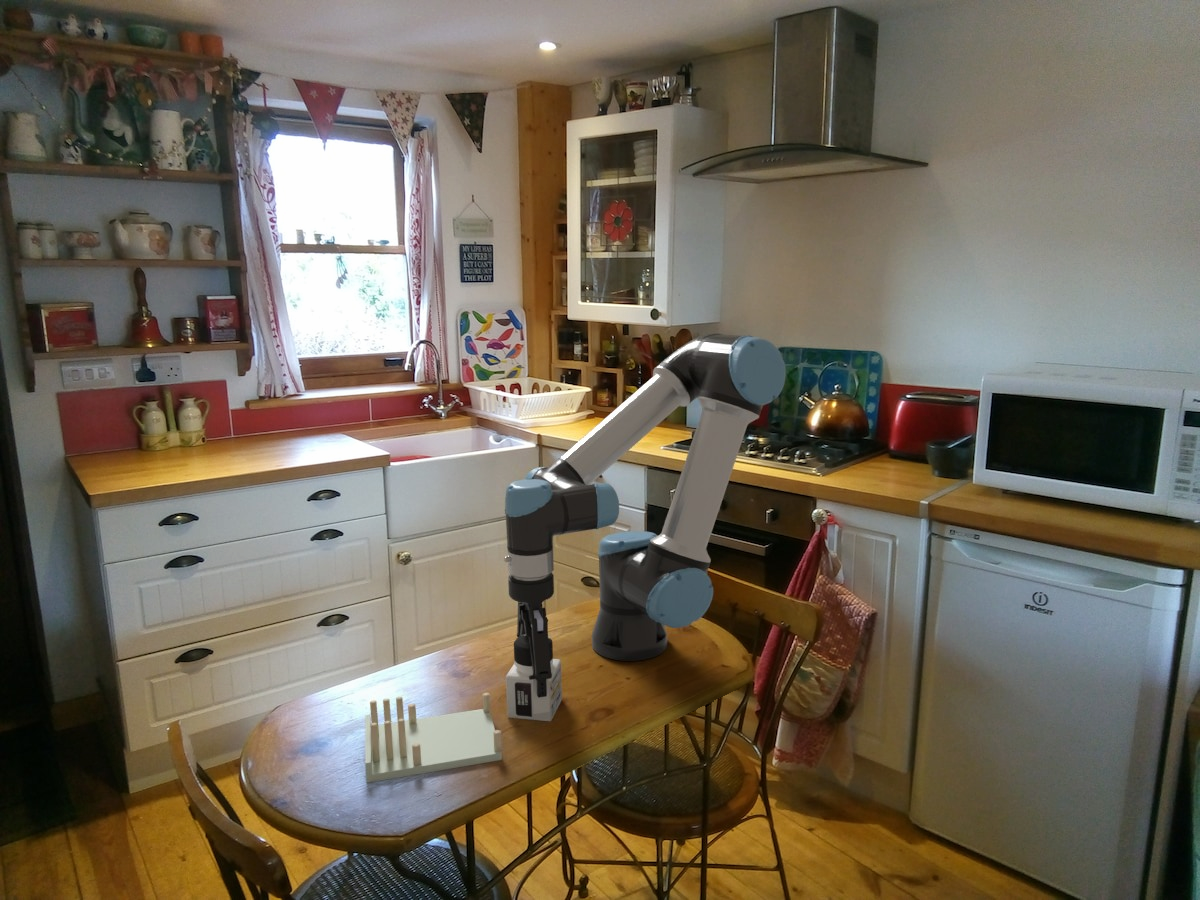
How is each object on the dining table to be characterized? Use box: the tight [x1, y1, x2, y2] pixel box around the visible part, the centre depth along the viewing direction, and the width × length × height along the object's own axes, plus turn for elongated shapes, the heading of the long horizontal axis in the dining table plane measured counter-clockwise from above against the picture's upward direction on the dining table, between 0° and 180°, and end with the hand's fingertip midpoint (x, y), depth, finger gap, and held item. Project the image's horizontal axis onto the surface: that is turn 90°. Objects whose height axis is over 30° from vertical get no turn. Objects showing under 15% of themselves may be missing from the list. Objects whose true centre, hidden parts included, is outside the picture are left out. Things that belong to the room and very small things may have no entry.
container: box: [505, 635, 563, 722], centre depth 139 cm, size 8×8×13 cm
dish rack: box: [364, 692, 503, 784], centre depth 129 cm, size 20×14×7 cm
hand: (534, 696), depth 140 cm, fingers closed on container, 10 cm apart
